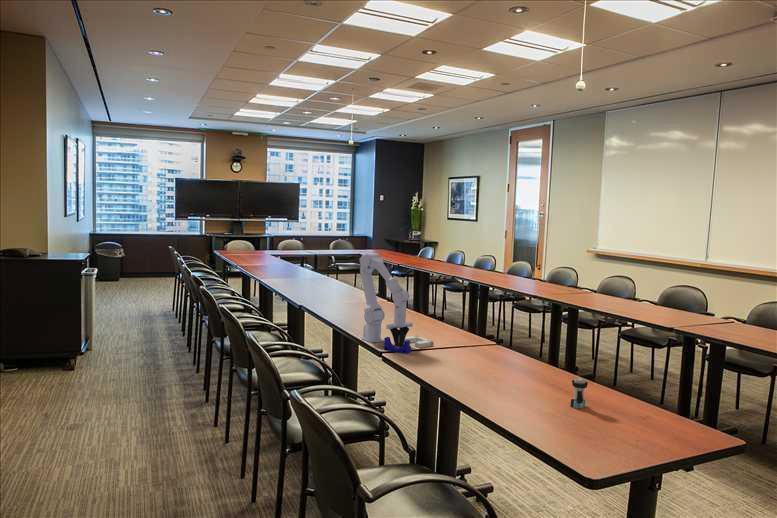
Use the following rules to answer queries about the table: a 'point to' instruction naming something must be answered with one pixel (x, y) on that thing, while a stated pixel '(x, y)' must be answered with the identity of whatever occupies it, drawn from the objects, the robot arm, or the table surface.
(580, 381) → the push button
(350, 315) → the table surface
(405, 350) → the blue curved piece
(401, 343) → the ink cartridge
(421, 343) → the groove holder
